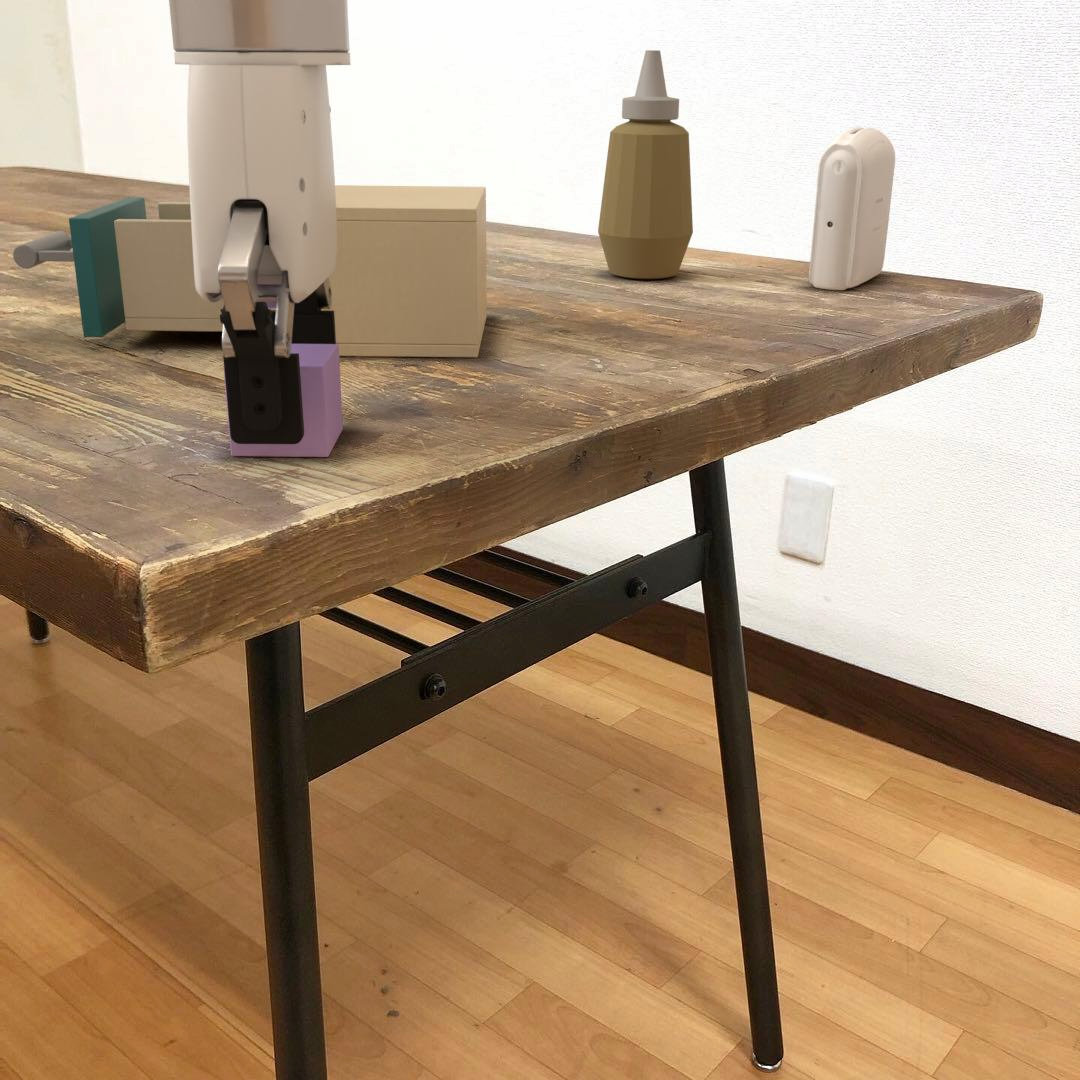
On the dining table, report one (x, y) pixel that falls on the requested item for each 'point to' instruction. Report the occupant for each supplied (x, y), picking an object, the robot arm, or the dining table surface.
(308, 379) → the lavender foam cube
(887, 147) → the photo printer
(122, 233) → the drawer
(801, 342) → the dining table surface
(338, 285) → the drawer cabinet
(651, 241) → the squeeze bottle
